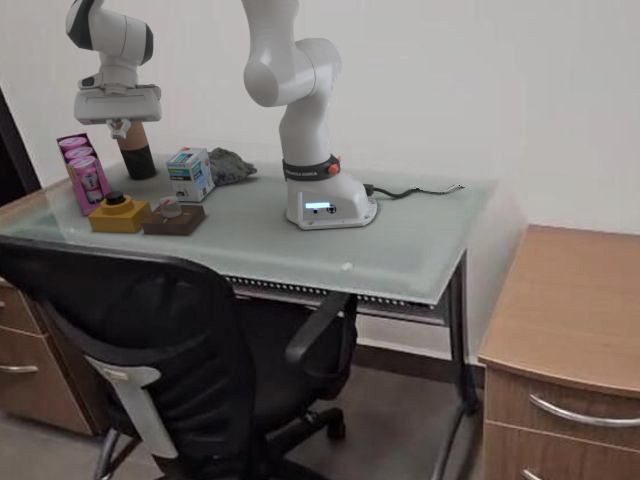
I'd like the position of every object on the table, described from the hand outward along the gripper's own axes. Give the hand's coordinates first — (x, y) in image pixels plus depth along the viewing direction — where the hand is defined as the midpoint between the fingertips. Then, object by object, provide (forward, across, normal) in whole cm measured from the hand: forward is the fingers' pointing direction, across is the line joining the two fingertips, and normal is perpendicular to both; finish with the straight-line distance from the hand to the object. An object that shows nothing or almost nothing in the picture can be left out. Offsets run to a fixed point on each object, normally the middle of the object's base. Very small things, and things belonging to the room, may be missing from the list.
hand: (118, 138), depth 150 cm
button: (+17, 0, +1) cm, 17 cm away
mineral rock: (+6, -22, -18) cm, 29 cm away
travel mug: (-1, +4, -25) cm, 25 cm away
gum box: (+9, +13, -15) cm, 22 cm away
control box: (+21, 0, -3) cm, 21 cm away
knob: (+20, -13, +1) cm, 24 cm away
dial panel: (+22, -13, -1) cm, 26 cm away
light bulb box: (+10, -14, -14) cm, 22 cm away
